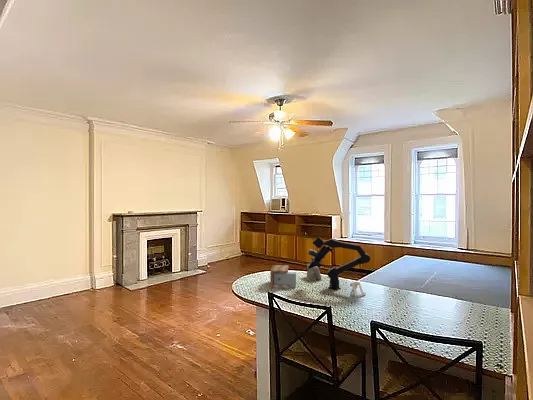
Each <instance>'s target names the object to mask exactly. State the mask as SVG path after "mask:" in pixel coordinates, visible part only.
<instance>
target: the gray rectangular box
mask: <svg viewBox="0 0 533 400" xmlns="http://www.w3.org/2000/svg"><path fill="white" fill-rule="evenodd" d="M274 285H289V288H297V272H292V271H288V272H287V273H275V272H274Z"/></svg>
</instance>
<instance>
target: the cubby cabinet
mask: <svg viewBox="0 0 533 400" xmlns="http://www.w3.org/2000/svg"><path fill="white" fill-rule="evenodd" d="M289 267H290V266H289V265H287V264H284V265H282V264H281V265H280V264H272V266H271V268H270V281H269V282H270V286H269V287H270V289H271V288H272V289H273V288H279V289H280V288H281V289H282V288H283V289H290V287H289V285H274V272H275V273H287V272H289Z"/></svg>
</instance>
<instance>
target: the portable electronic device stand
mask: <svg viewBox="0 0 533 400" xmlns="http://www.w3.org/2000/svg"><path fill="white" fill-rule="evenodd" d="M349 286H350V287H351V291H350V293H349V295H352V294H354V295H355V297H356V298H360V297H363V296H364V297H365V296H366V294H367V292H366V291H365V292H364V290H363V288H362V285H361V281H359V280H358V281H354V282H351V283H349ZM358 287H359V290H360V293H358V292H357V288H358Z"/></svg>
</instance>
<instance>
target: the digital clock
mask: <svg viewBox="0 0 533 400" xmlns="http://www.w3.org/2000/svg"><path fill="white" fill-rule="evenodd" d="M309 265H310V263H307V264H306V267H307V271H306V278H307V279H309V280H312V281H317V280H318V281H321V280H322V275H321V272H320V268H319V267H318V266H315V267H312V268H310V269H309V268H308V266H309Z"/></svg>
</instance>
